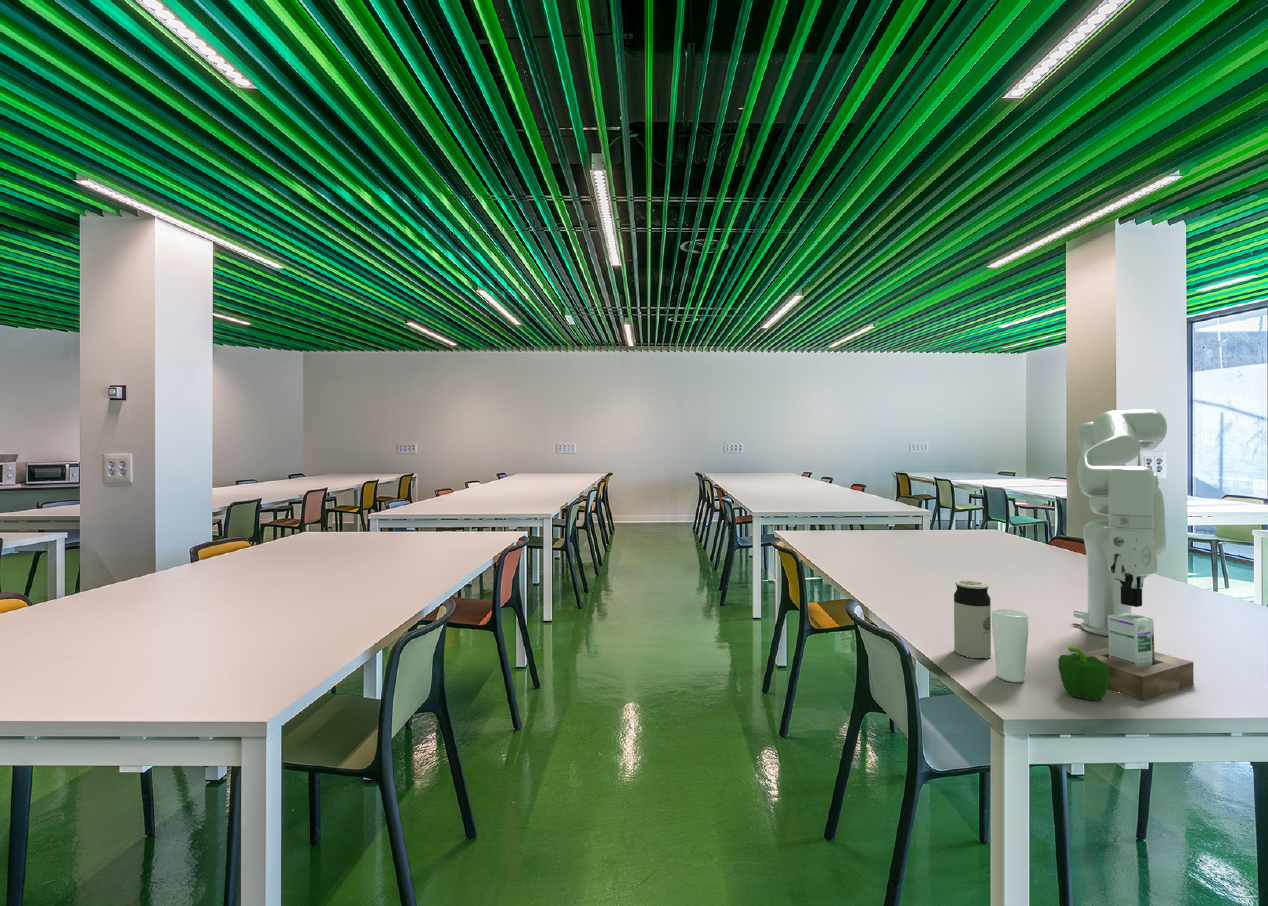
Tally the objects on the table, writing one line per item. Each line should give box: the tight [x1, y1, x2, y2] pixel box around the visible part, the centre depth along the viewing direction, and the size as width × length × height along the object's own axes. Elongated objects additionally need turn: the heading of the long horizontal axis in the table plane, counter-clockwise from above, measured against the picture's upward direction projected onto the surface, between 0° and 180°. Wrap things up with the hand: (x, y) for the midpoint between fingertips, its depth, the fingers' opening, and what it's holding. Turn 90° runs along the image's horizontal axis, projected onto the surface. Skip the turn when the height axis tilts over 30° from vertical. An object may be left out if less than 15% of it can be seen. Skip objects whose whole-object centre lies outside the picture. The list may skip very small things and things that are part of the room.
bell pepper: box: [1057, 646, 1110, 701], centre depth 118 cm, size 8×8×10 cm
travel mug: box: [953, 579, 992, 659], centre depth 142 cm, size 8×8×18 cm
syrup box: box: [1107, 613, 1155, 668], centre depth 125 cm, size 6×6×14 cm
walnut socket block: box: [1084, 646, 1195, 702], centre depth 125 cm, size 13×20×5 cm, turn 113°
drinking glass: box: [991, 608, 1029, 683], centre depth 127 cm, size 7×7×15 cm
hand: (1131, 605), depth 125 cm, fingers closed
